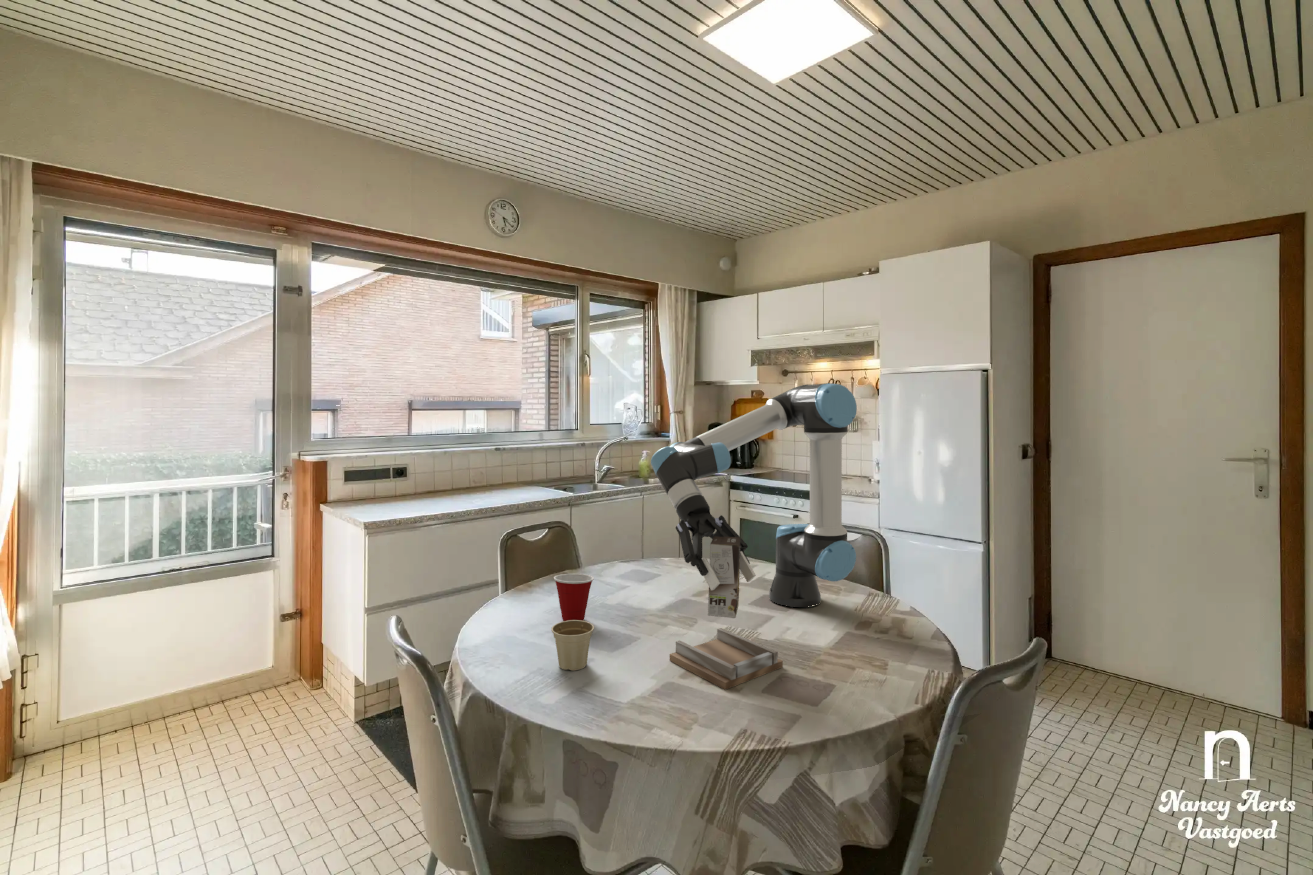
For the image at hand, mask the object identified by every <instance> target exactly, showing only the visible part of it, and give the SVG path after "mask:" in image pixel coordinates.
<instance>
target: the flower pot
mask: <svg viewBox="0 0 1313 875" xmlns="http://www.w3.org/2000/svg"><path fill="white" fill-rule="evenodd" d="M594 629H595V625H594V624H593V623H591V622H588V621H587V620H583V621H581V620H569V621H563V620H562V621H559V622H557V623H555V624H554V625H552V627H551V633H552V635H553V638H554V640H555V646H556V654H557V660H558V667H559V668H560V669H562V670H565V671H568V670H570V671H579V670H582V669H584V668H586V665H588V658H589V651H590V650H589V649H590V641H591V637H592V635H593V631H594Z"/></svg>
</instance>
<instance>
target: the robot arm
mask: <svg viewBox="0 0 1313 875" xmlns="http://www.w3.org/2000/svg"><path fill="white" fill-rule="evenodd" d="M857 406H858V405H857V400H856V397H855V396H854V394H853V393H852V391H851V390H850V389H849V388H848V387H846V386H844V385H843V384H838V383H830V382H829V383H817V384H816V383H815V384H802V385H799V386H795V387H792V388H791V389H789V390H786V391H784V392H782V393H780V394H778V395H776V396H775V397H774V396H773V397H771V398H770V399H768V400H766V403H765V405H762V406H759V407H758V408H756V409H754V410H751V411H750V412H747V413H745V414H744V415H743V414H742V415H740V416H739V417H736V418H734V419H732V420H729V421H728V422H726V423H725V422H724V423H723V424H721V425H719V426H717V427H714V428H713V429H710V430H707V431H706V432H703V433H702V434H699V435H697V436H695V437H693V438H691V439H688V440H686V441H678V442H674V443H672V444H671V445H669V446H664V447H662V448H660V449H657V451H655V452H654V454H653V455H652V456H651V458H650V465H651V466H652V469H653V472H654V474H655V476H656V477H657V479H658V480H659V483H660V484H661V486H662V487H663V490H664V492H665V493H666V495H667V497H668V499H669V501H670V503H671V504H672V506H673V508H674V510H675V513H676V514H677V515H678V517H679V519H680V521H679V522H678V523H677V525H676V526H675V530H676V532H677V534H678V536H679V540H680V545H681V549H682V553H683V558H684V562H685V563H687V564H690V565H691V566H692V567H696V568H697V571H698V572H699V574H700V576H702V577H703V578H704V580H705V582H706V584H707V587H708V588H709V587H710V589H711V590H714V589H715V588H716V587H717V586H718V585H719V584H720V582H719V580H718V579H717V577H716V575H715V573H714V571H713V569H712V568H711V566H710V561H709V560H708V559H707V557H703V538H710V539H711V540H712V539H713V537H714V536H717V537H740V538H741V536H739V534H738V533H737V532H736V531H735V530H734V528H732V527H731V525H730V524H729V523H728V522H727V520H726V518H725V517H724V516H723V515H721V514H720V516H719V517H714V515H712V514H711V508H710V504H709V503H708V502H707V500H706V498H705V497H704V495H703V493H702V491H701V489H700V487H699V486H698V484H697V483H696V480H700V479H702V478H705V477H709V476H712V475H713V476H714V475H716V474H720V473H722V472H724V471H726V470H729V468H730V467H731V465H732V464H731V463H732V459H731V454H730V451H732V450H734V449H737V448H738V447H740V446H742V445H745V444H747V443H749V442H751V441H753V440H756V439H757V438H760V437H762V436H764V435H767V434H768V433H771V432H773V431H774V430H779V431H783V430H785V429H787V428H791V427H792V426H793V427H794V426H803V434H804V435H806V437H808V439H809V523H789V524H782V525H779V526H778V527H777V529H776V533H775V534H776V536H775V540H776V543H775V545H776V546H775V574H774V577H773V580H772V583H771V586H770V589H769V592H768V593H769V595H768V596H769V597H768V598H770V599H769V600H770V601H771V600H772V601H773V602H772V601H771V602H772V603H774V602H775V603H774V604H776V603H777V604H776V605H778V604H781V605H780V606H782V605H787V606H791V607H790V608H793V607H808V606H812V605H816V604H819V603H820V604H821V602H820V601H821V600H822V598H821V597H822V594H821V593H820V592H821V591H820V589H819V585H818V581H817V578H819V579H821V580H825V581H829V582H839V581H843V580H844V579H845V578H847V577H848V576H849V574H850V573H852V571H853V569H854V567H855V566H856V560H857V553H856V549H855V547H853V544H851V543H850V542H849V541H848V530H847V529H846V528H845V527H844V526H843V523H842V502H843V501H842V496H843V495H842V493H843V492H842V487H843V484H842V483H843V480H842V478H843V476H842V475H843V474H842V473H843V472H842V471H843V470H842V469H843V468H842V467H843V465H842V464H843V463H842V461H843V459H842V458H843V457H842V456H843V455H842V454H843V453H842V452H843V451H842V450H843V449H842V448H843V444H842V441H843V439H844V437H845V436H846V435H847V434H849V433H848V426H849V425H850V424H852V423H853V422H854V419H855V418H856V415H857V410H858V409H857V408H858V407H857ZM748 547H749V546H748V544H747V543H746V542H745V541H744V540H743V538H741V540H740V572H741V573H742V574H741V575H743V578H744V579H745V581H746V582H747V583H750V582H751V581H752V580H753V579H754V578H755V577H756V576H757V574H756V572H755V571H754V569H753V567H752V566H751V563H750V560H749V559H748V557H747V555H746V553H745V551H746V550H747V549H748ZM816 577H817V578H816ZM820 604H819V605H820Z"/></svg>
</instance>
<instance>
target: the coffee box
mask: <svg viewBox="0 0 1313 875" xmlns="http://www.w3.org/2000/svg"><path fill="white" fill-rule="evenodd" d="M741 539H742V537H741V536H740V537H717V536H714V537H713V539H712V538H711V541H710V545H709V546H710V549H709V564H710V566H711V568H712V569H713V571H714V573H715V575H716V577H717V579H718V580H719V582H720V584H719V585H718V586H717V587H716V588H715V589H714V590H711V589H710V587H709V586H708V599H707V600H708V603H707V616H709V617H718V618H721V617H722V618H729V619H736V618H737V615H738V614H737V613H738V609H739V603H740V602H739V601H740V599H739V598H740V572H741V570H740V540H741Z"/></svg>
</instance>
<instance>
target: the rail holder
mask: <svg viewBox="0 0 1313 875" xmlns="http://www.w3.org/2000/svg"><path fill="white" fill-rule="evenodd" d="M716 632H717V633H716V639H713V640H710V641H707V642H704V643H700V644H698V645H695V646H693V645H691V644H688V643H686V642H684V641H682V640H680V639H679V640H676V641H675V652H672V653H670V654H669V661H670V662H672V663H673V664H675V665H677V666H679V667H681V668H683V669H685V670H687V671H689V672H690V673H692V674H695V675H696V676H698V677H700V678H702V679H703V680H706V681H708V682H709V683H711V684H714V685H716V686H717V687H719V688H721V689H723V690H729V689H730V688H731V689H732V688H733V687H736V686H739V685H741V684H743V683H747V682H748V681H752V680H754V679H756V678H759V677H761V676H764V675H766V674H769V673H772V672H774V671H777V670H780V669H783V667H784V662H783V659H779V658H778V655H779V654H778V651H777V650H775V649H772V648H770V647H767V646H764V645H763V644H760V643H757V642H756V641H753V640H751V639H748V638H746V637H743V636H741V635H740V634H736V633H734V632H732V631H729V630H727V629H724V628H723V627H718V628H717V629H716Z"/></svg>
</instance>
